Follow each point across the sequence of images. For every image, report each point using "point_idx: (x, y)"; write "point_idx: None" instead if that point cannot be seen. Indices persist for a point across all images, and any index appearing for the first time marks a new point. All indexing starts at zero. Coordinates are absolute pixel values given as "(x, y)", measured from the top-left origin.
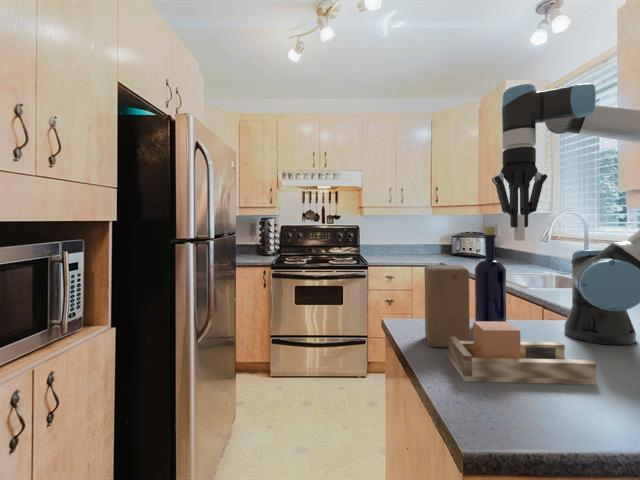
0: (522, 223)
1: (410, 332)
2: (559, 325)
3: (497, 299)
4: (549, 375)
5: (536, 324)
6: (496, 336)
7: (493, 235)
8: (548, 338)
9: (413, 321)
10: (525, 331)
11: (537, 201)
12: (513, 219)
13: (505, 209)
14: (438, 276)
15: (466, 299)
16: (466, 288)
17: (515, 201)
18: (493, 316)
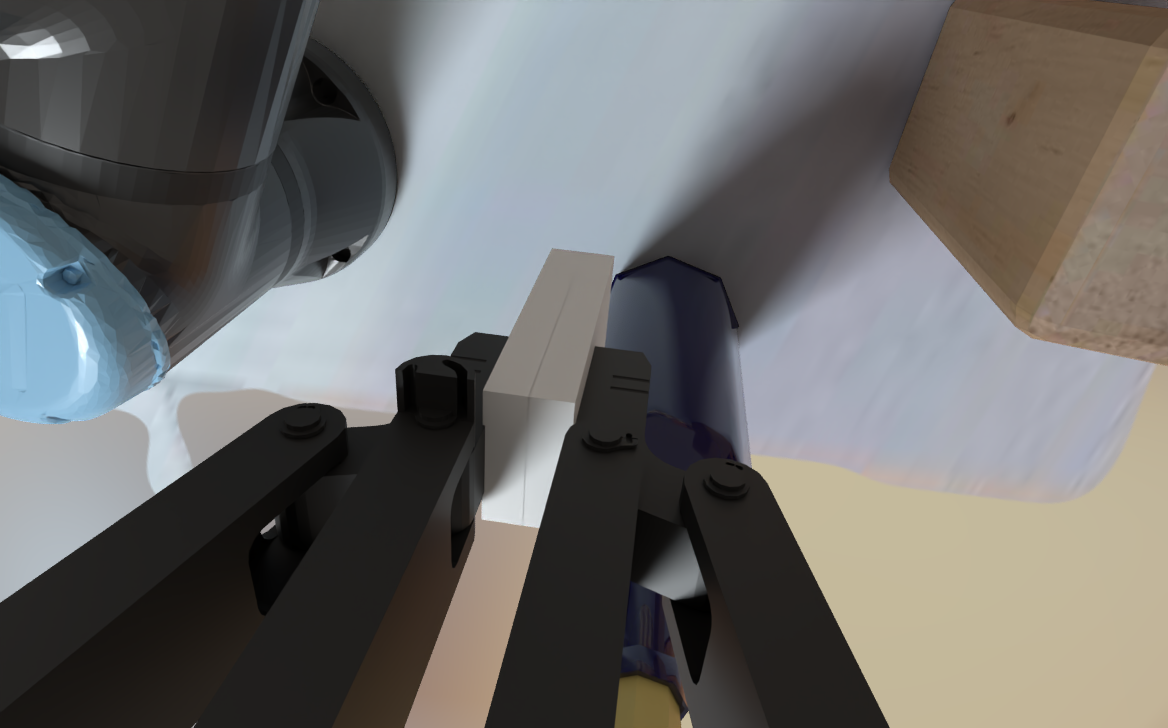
0: (537, 334)
1: None
2: (357, 327)
3: (660, 325)
4: None
5: (444, 350)
6: None
7: (625, 667)
8: (495, 145)
9: (973, 453)
10: (541, 255)
11: (162, 503)
12: (634, 408)
13: (773, 508)
14: None
15: (1084, 3)
16: (1124, 7)
17: (585, 578)
18: (682, 293)
